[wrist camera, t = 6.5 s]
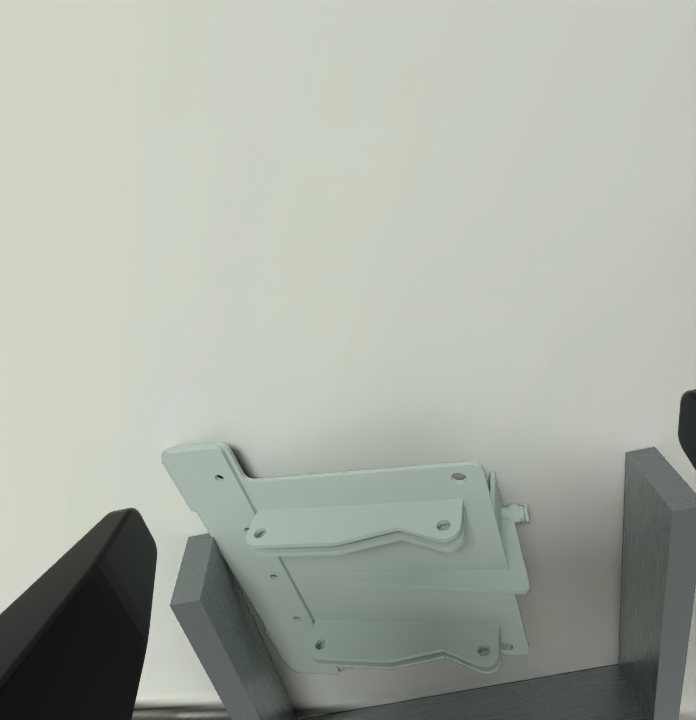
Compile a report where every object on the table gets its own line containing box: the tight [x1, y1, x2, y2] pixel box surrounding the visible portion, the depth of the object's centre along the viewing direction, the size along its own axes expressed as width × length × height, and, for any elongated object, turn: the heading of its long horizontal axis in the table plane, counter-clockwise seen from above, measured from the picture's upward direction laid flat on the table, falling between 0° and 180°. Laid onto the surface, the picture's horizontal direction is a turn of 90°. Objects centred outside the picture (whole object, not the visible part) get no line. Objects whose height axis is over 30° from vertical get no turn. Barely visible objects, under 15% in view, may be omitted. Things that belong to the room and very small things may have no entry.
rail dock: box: [170, 447, 696, 720], centre depth 26 cm, size 20×16×4 cm
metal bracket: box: [162, 442, 530, 674], centre depth 25 cm, size 14×6×15 cm
